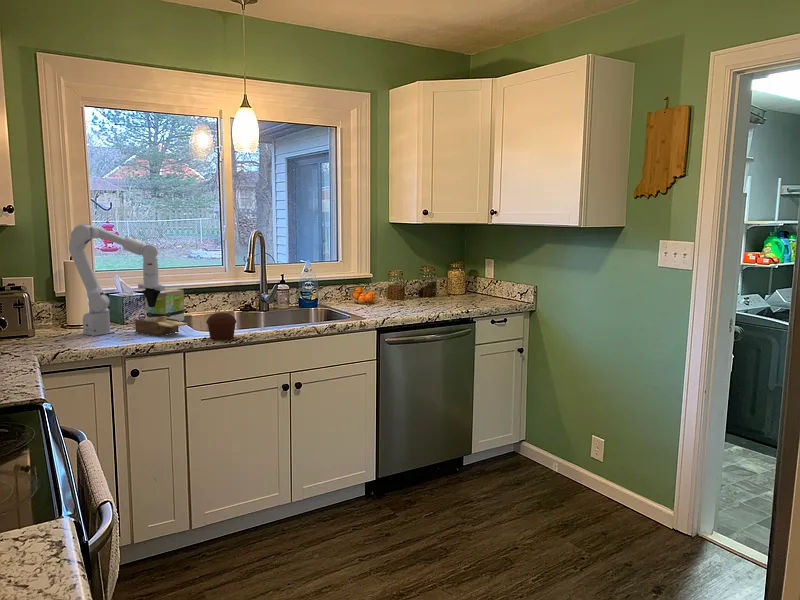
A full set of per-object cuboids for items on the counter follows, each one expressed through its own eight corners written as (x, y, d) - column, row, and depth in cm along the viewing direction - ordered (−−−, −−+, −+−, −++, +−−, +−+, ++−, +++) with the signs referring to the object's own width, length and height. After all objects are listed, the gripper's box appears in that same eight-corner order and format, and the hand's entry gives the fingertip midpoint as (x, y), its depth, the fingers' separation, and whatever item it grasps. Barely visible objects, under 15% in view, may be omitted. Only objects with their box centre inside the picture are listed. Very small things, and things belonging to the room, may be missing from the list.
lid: (171, 327, 241) (170, 321, 240) (148, 323, 248) (147, 318, 247) (188, 324, 248) (188, 318, 247) (165, 321, 255) (165, 315, 255)
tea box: (166, 325, 270) (165, 292, 268) (146, 324, 272) (144, 291, 270) (185, 320, 284) (184, 288, 282) (165, 319, 286) (164, 288, 284)
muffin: (233, 334, 251) (232, 310, 250) (240, 339, 242) (239, 314, 241) (203, 336, 246) (202, 311, 244) (209, 341, 236) (208, 315, 235)
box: (157, 336, 244) (157, 322, 243) (135, 332, 251) (135, 319, 251) (178, 332, 253) (178, 319, 252) (156, 329, 260) (156, 316, 259)
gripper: (170, 274, 251) (171, 307, 253) (147, 272, 258) (149, 304, 260) (155, 275, 245) (156, 309, 247) (133, 273, 252) (134, 306, 254)
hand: (151, 307), depth 253 cm, fingers closed
